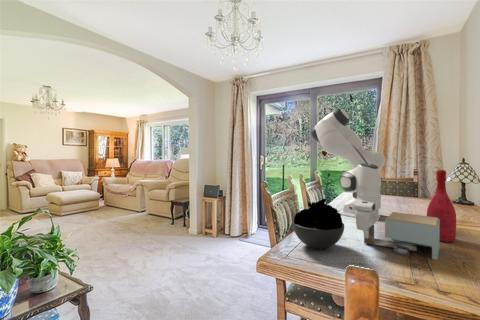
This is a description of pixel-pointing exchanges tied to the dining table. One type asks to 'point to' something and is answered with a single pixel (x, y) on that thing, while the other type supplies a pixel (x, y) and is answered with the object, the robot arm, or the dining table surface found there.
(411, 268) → the dining table surface
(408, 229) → the cabinet
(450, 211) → the wine bottle
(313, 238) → the coal bowl
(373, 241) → the wood-handled metal tool
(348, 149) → the robot arm
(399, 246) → the steel puck
